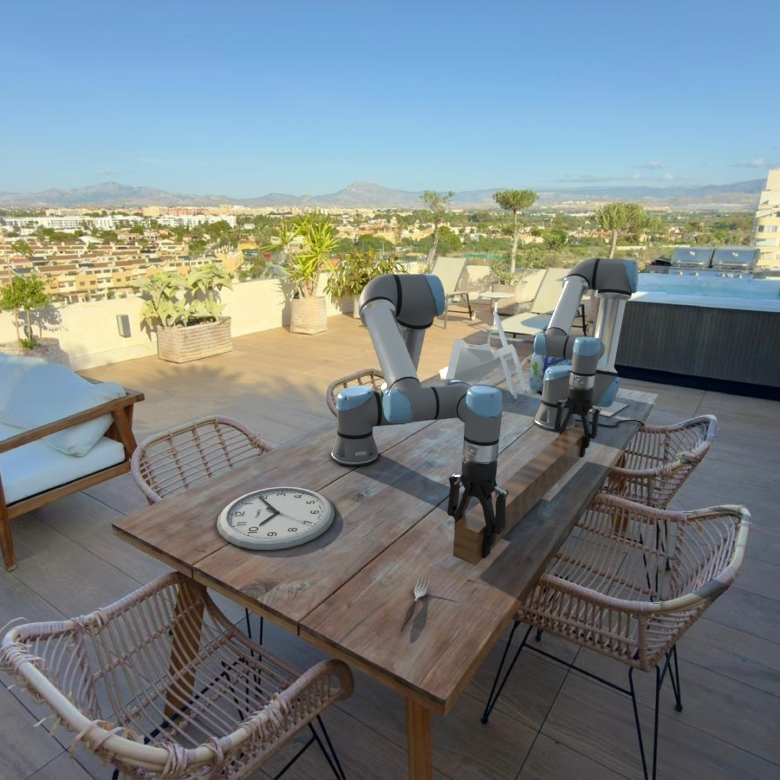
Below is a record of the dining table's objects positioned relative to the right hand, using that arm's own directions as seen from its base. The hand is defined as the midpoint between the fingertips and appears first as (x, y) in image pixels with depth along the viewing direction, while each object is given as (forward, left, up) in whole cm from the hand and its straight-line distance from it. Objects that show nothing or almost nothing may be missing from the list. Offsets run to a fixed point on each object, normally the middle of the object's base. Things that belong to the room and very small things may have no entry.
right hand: (572, 453), depth 172 cm
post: (+17, +30, -1) cm, 34 cm away
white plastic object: (+27, -71, -3) cm, 76 cm away
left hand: (+34, +59, 0) cm, 69 cm away
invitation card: (-25, -59, -3) cm, 64 cm away
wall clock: (+84, +48, -3) cm, 97 cm away
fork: (+46, +77, -3) cm, 90 cm away
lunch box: (-7, -82, -3) cm, 82 cm away
